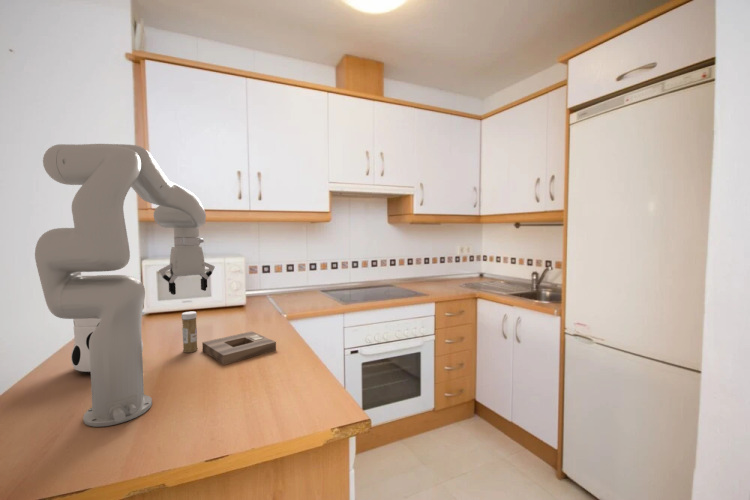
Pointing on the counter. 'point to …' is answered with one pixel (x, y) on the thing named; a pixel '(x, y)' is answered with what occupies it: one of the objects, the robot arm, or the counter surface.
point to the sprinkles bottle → (189, 331)
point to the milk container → (83, 343)
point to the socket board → (238, 347)
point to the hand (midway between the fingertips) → (188, 292)
